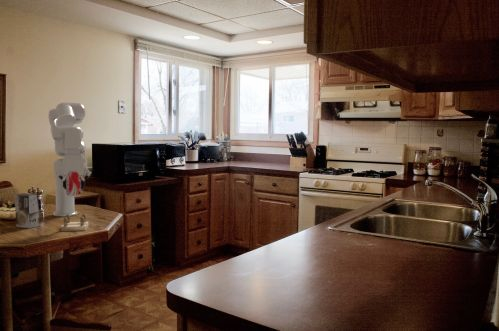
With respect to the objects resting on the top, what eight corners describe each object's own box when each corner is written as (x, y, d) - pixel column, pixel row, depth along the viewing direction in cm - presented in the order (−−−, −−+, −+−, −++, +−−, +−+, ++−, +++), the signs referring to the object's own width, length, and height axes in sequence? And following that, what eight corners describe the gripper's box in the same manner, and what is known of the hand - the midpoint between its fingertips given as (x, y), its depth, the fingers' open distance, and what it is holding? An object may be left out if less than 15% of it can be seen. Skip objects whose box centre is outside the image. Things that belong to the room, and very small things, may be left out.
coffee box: (40, 225, 209) (39, 193, 207) (29, 228, 203) (28, 195, 201) (26, 224, 212) (25, 192, 210) (15, 226, 206) (14, 194, 204)
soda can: (78, 196, 200) (77, 171, 199) (63, 196, 200) (63, 171, 199) (84, 194, 207) (84, 170, 206) (70, 194, 208) (69, 170, 206)
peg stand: (65, 225, 209) (64, 214, 209) (88, 225, 212) (88, 213, 211) (61, 231, 199) (60, 218, 198) (85, 230, 201) (85, 217, 201)
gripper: (93, 152, 208) (93, 187, 209) (55, 151, 204) (56, 188, 205) (91, 153, 201) (92, 189, 202) (52, 152, 196) (53, 190, 198)
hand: (74, 188), depth 204 cm, fingers closed on soda can, 7 cm apart
